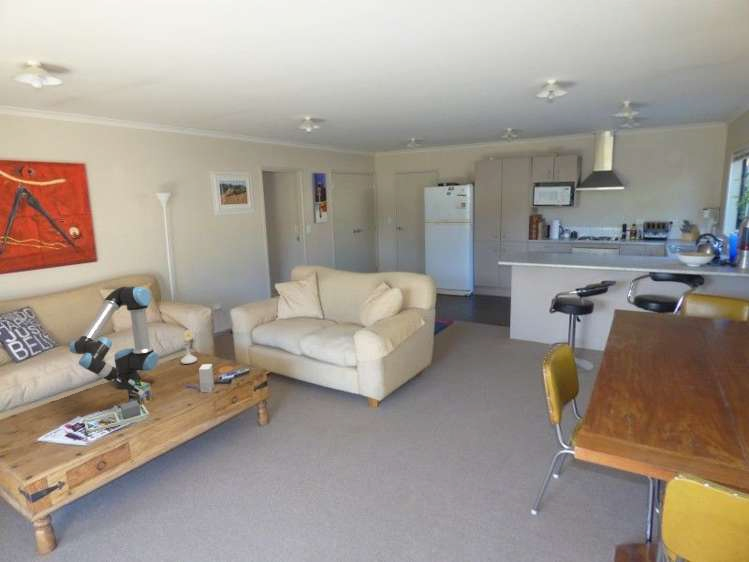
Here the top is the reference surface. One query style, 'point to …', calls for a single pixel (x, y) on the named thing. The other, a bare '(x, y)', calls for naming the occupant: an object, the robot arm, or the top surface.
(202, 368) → the skincare box
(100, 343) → the robot arm
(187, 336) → the flower in vase
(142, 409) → the caddy
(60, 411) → the top surface
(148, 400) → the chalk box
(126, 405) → the grey block
